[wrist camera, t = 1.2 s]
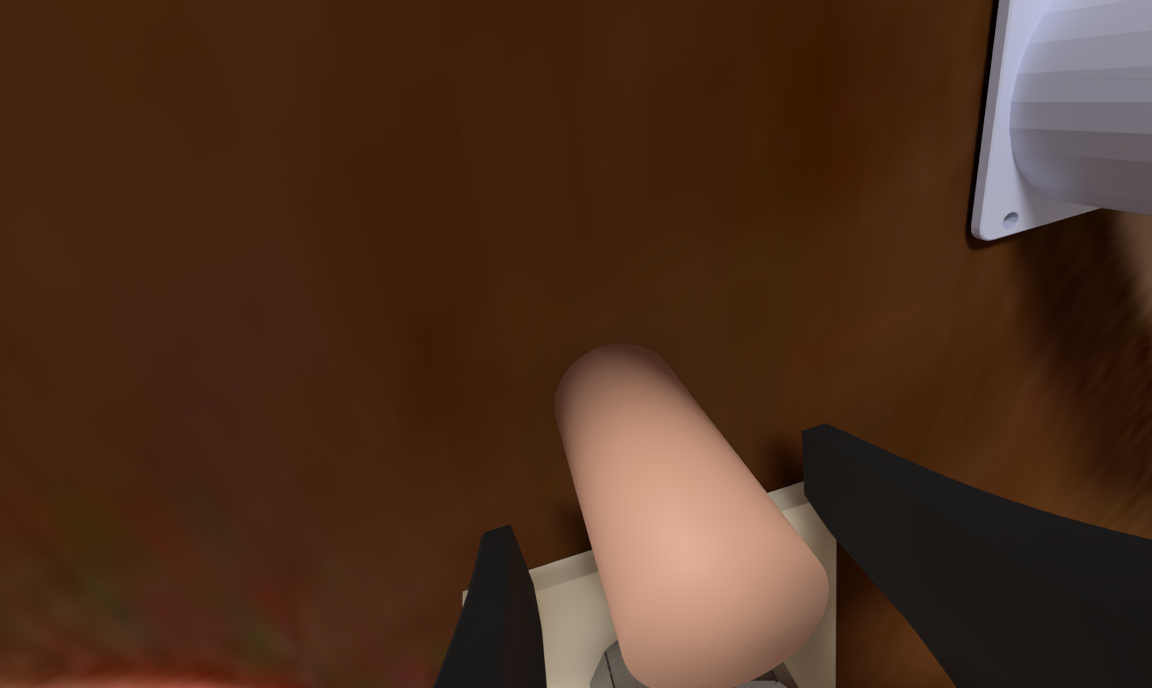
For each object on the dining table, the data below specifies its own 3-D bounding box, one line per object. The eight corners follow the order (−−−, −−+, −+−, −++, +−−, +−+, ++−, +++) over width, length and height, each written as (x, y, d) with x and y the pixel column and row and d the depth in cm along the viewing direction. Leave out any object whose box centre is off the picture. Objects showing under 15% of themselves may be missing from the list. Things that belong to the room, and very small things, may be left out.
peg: (665, 327, 16) (828, 510, 9) (682, 430, 18) (829, 654, 10) (539, 364, 15) (600, 586, 8) (570, 466, 17) (641, 719, 10)
